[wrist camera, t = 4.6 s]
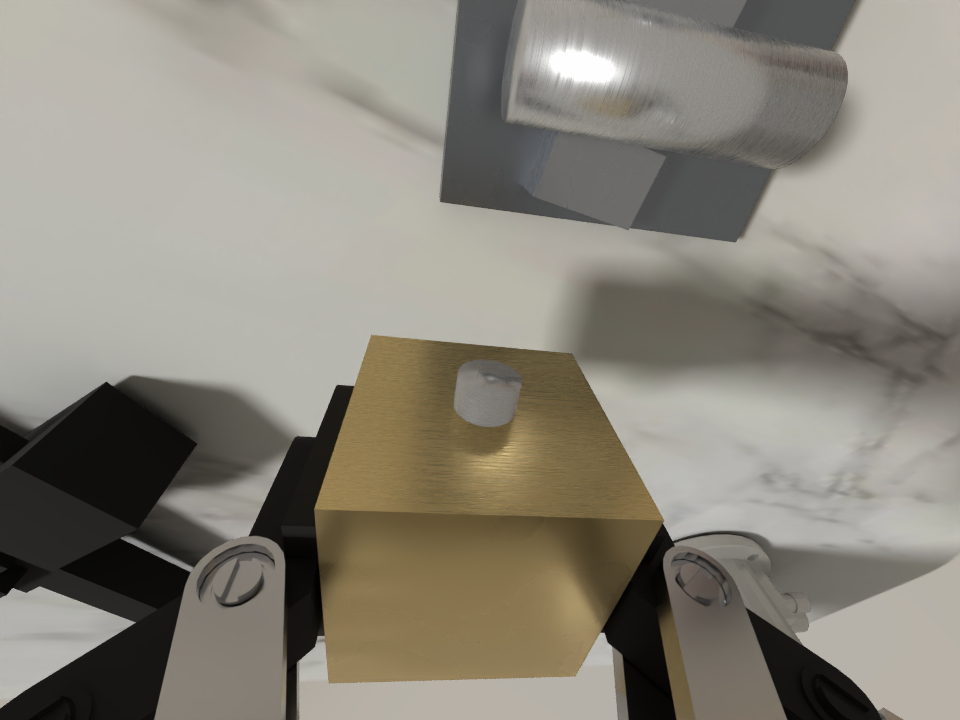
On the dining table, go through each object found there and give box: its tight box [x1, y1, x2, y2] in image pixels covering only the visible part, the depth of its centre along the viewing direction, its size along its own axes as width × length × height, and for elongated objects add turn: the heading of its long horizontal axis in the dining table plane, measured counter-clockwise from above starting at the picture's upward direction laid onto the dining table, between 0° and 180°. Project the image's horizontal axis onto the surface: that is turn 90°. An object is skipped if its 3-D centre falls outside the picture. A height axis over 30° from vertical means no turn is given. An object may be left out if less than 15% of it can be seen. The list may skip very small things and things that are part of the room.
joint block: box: [314, 335, 664, 683], centre depth 9 cm, size 5×6×5 cm
